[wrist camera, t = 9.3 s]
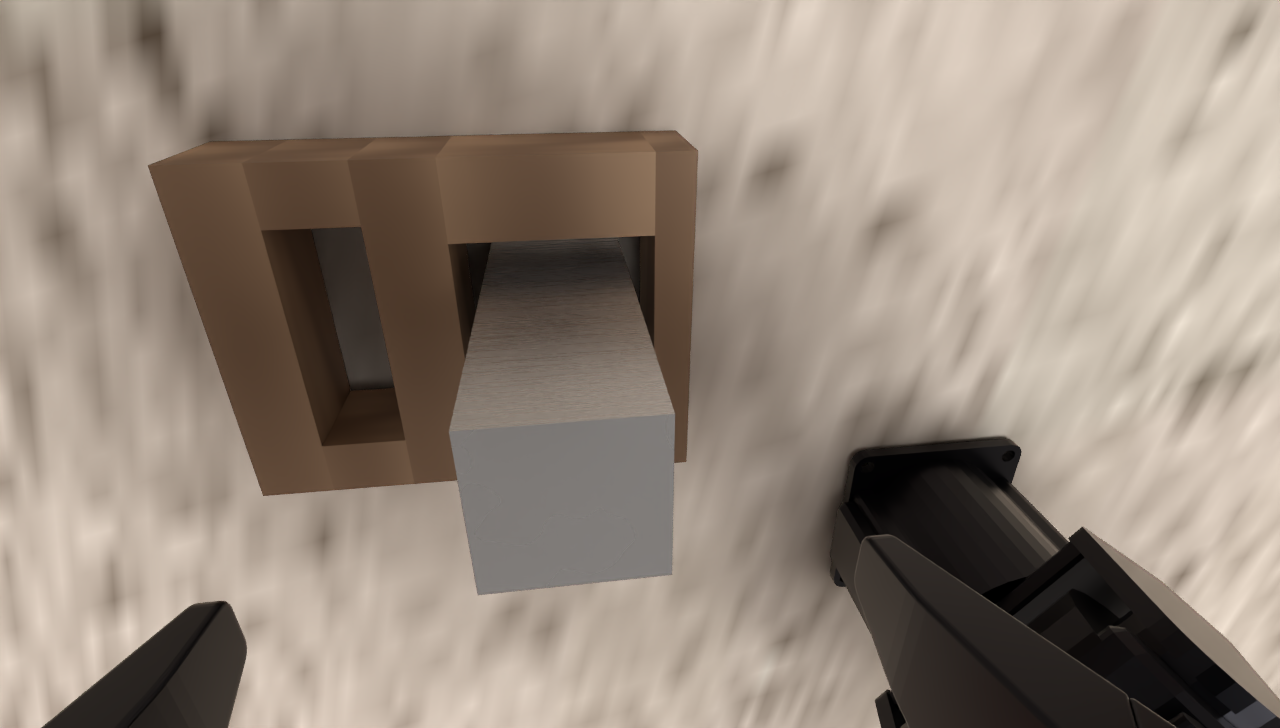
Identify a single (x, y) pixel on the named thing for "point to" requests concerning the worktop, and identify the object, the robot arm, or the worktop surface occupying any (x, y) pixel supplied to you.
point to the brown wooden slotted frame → (404, 276)
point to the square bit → (563, 423)
